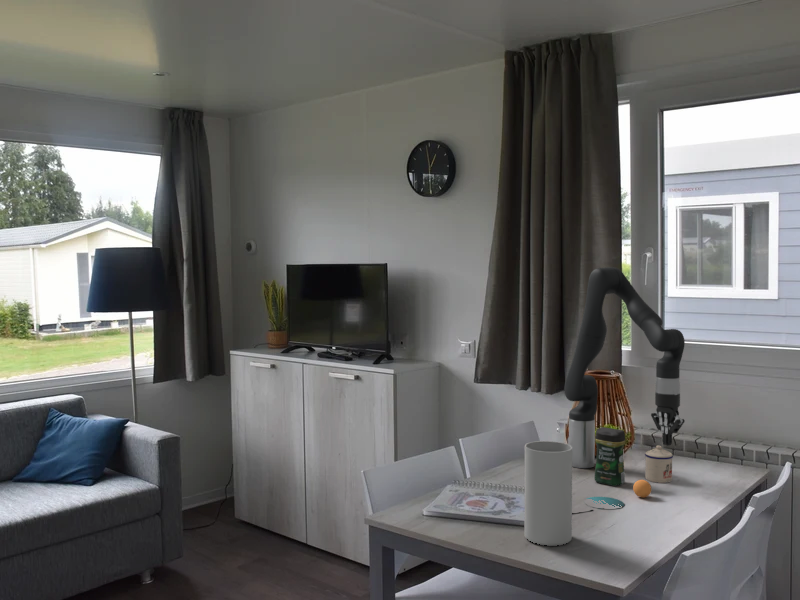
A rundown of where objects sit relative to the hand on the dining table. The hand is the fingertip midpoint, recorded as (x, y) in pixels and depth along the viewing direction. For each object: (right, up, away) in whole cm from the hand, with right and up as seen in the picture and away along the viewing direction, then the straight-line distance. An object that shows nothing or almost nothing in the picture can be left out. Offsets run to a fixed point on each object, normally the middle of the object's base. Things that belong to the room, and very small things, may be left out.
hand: (667, 444), depth 238 cm
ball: (-9, -13, -3) cm, 16 cm away
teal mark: (-23, -16, -9) cm, 30 cm away
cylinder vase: (-46, -18, -39) cm, 63 cm away
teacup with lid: (+4, -15, +17) cm, 24 cm away
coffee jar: (-15, -16, +13) cm, 25 cm away
